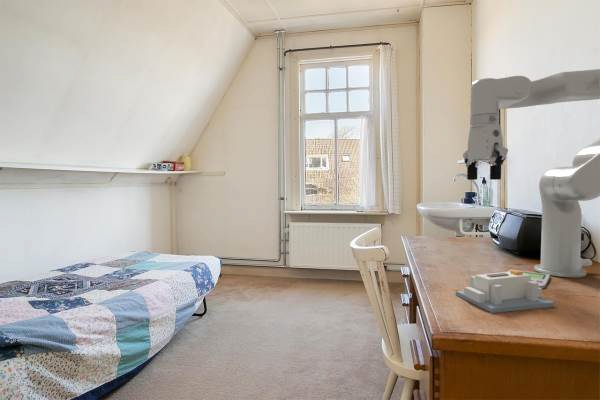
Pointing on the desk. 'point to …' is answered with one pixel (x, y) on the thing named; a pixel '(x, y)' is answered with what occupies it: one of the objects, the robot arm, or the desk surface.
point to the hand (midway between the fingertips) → (483, 179)
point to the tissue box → (504, 284)
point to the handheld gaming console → (537, 278)
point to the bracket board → (500, 305)
